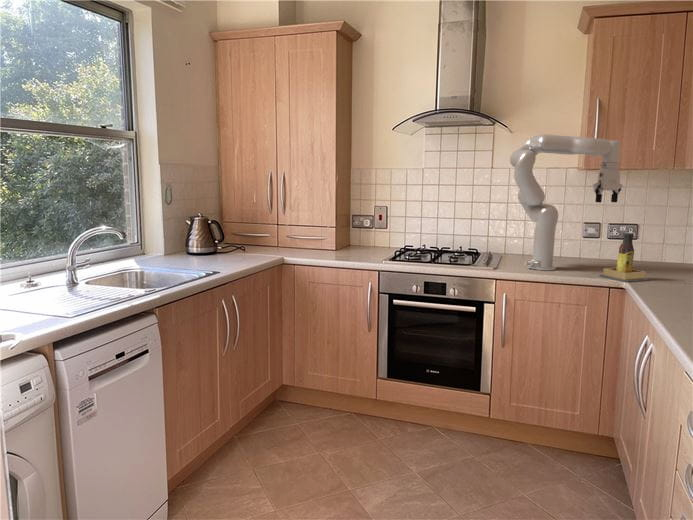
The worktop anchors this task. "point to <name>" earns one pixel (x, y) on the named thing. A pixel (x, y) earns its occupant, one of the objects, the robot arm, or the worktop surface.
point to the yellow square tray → (624, 275)
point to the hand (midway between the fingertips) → (606, 202)
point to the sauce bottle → (626, 254)
